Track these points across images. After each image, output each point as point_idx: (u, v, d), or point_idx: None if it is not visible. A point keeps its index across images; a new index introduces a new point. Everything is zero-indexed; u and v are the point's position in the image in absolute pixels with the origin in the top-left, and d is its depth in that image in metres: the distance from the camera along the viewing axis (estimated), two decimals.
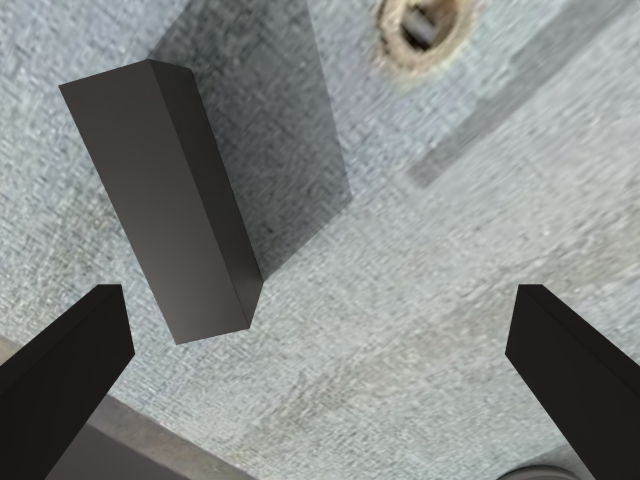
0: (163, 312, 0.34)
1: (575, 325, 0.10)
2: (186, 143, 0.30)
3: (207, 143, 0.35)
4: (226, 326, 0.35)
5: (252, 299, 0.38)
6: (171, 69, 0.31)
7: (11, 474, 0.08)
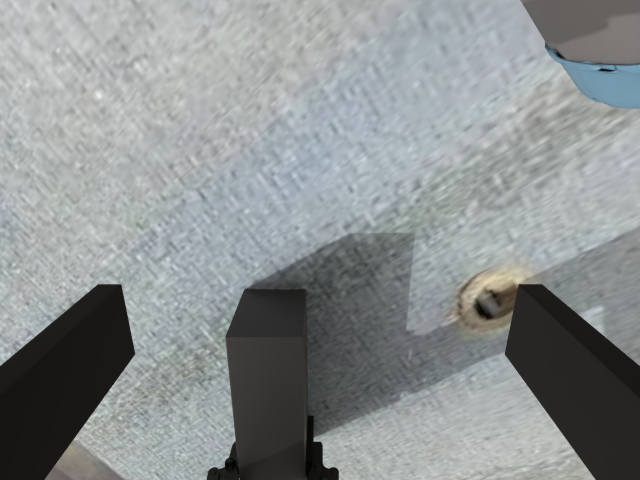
0: None
1: (575, 325, 0.10)
2: None
3: None
4: None
5: None
6: (304, 318, 0.39)
7: (11, 474, 0.08)
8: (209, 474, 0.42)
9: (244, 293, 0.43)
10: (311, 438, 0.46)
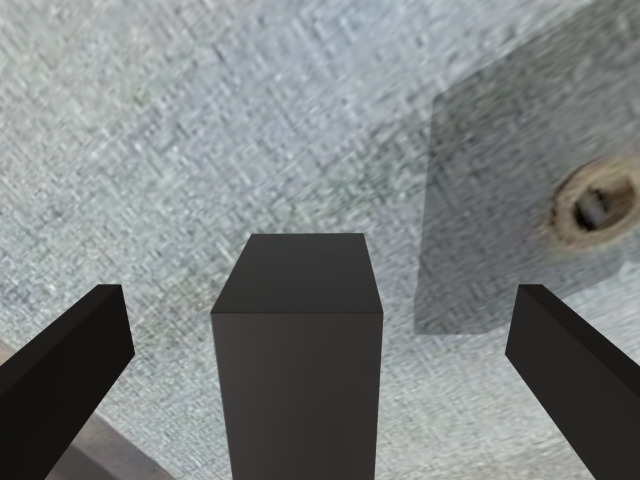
0: None
1: (575, 325, 0.10)
2: None
3: None
4: None
5: None
6: None
7: (11, 474, 0.08)
8: None
9: (252, 238, 0.23)
10: None
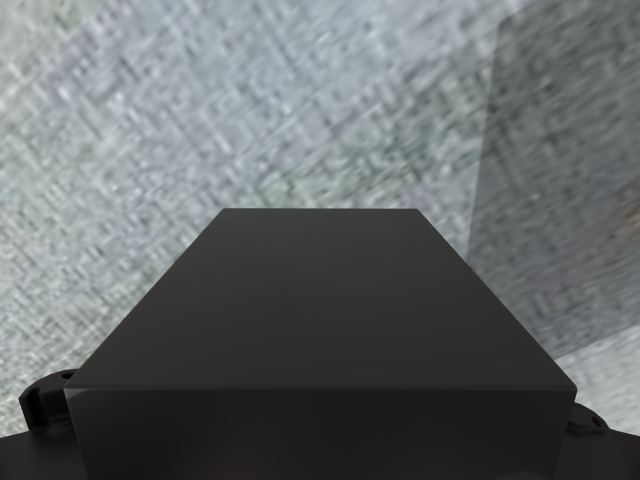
0: None
1: None
2: None
3: None
4: None
5: None
6: None
7: None
8: None
9: (222, 215, 0.13)
10: None
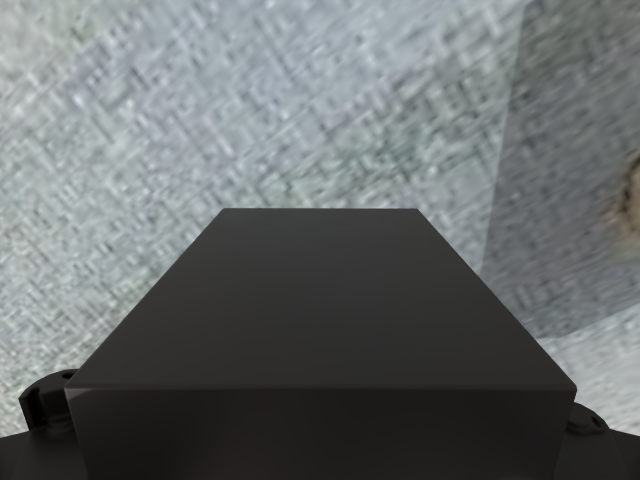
0: None
1: None
2: None
3: None
4: None
5: None
6: None
7: None
8: None
9: (222, 215, 0.13)
10: None
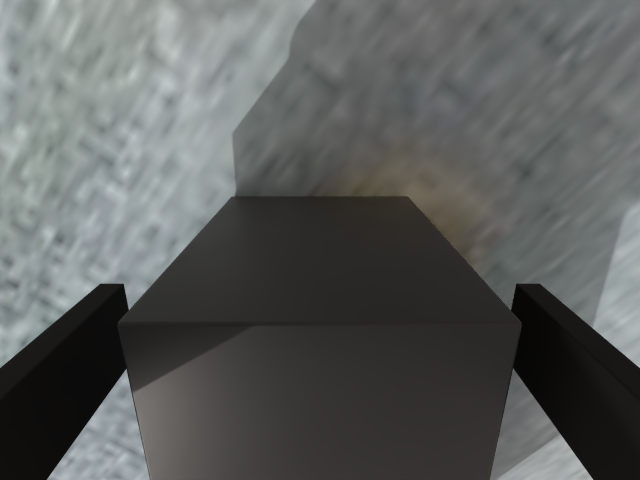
0: None
1: (572, 324, 0.10)
2: None
3: None
4: None
5: None
6: None
7: (15, 472, 0.08)
8: None
9: (231, 202, 0.14)
10: None
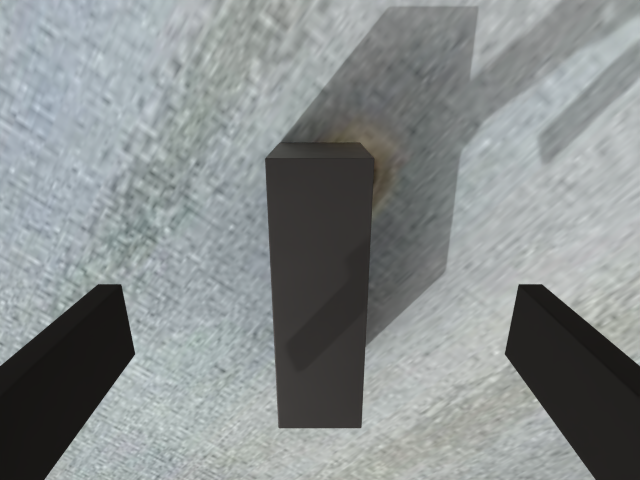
0: (279, 395, 0.32)
1: (575, 325, 0.10)
2: None
3: None
4: (338, 421, 0.33)
5: None
6: None
7: (11, 474, 0.08)
8: None
9: (280, 143, 0.33)
10: None
